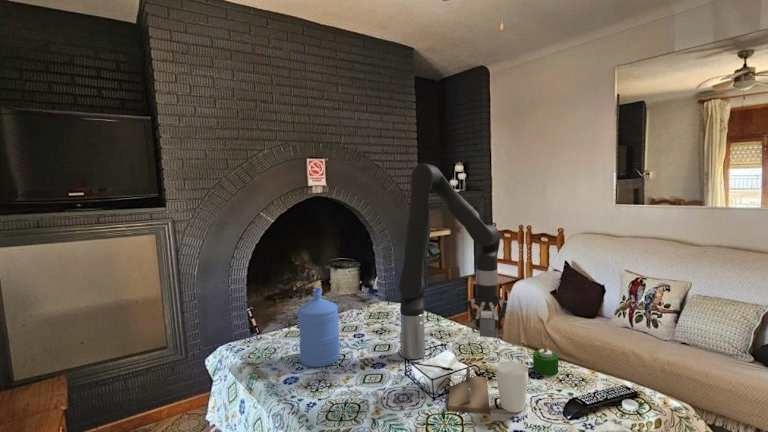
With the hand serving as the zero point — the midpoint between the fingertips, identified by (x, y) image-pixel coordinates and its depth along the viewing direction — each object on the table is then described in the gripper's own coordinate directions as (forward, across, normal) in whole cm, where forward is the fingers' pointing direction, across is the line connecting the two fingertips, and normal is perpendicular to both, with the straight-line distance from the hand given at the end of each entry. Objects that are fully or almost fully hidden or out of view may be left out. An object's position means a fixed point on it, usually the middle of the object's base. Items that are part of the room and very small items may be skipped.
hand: (486, 328), depth 137 cm
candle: (+15, +20, +3) cm, 26 cm away
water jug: (+17, -64, +1) cm, 66 cm away
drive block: (+1, 0, 0) cm, 1 cm away
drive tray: (+15, -6, -17) cm, 24 cm away
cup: (+16, +6, -22) cm, 28 cm away
